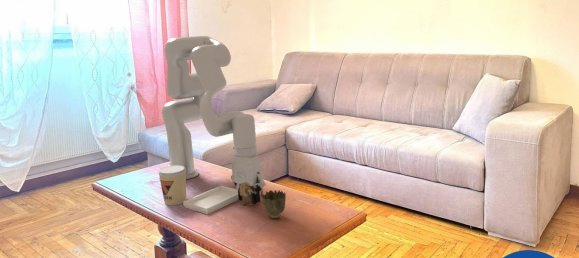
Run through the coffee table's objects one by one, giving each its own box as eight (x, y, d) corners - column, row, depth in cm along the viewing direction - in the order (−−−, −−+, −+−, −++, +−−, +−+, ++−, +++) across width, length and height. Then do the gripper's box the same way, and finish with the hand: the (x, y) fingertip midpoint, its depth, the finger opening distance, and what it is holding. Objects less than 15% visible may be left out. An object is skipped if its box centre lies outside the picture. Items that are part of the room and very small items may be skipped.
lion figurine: (252, 209, 153) (250, 184, 151) (237, 209, 154) (235, 184, 152) (265, 193, 166) (263, 170, 164) (251, 193, 168) (249, 169, 166)
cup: (278, 224, 141) (277, 200, 139) (259, 219, 145) (257, 196, 143) (291, 215, 147) (290, 191, 145) (272, 211, 151) (270, 188, 149)
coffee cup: (157, 202, 164) (153, 170, 161) (179, 194, 171) (175, 163, 168) (171, 208, 158) (167, 175, 155) (194, 199, 164) (190, 168, 162)
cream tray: (183, 206, 158) (183, 201, 158) (221, 190, 172) (221, 185, 172) (207, 214, 151) (206, 208, 151) (244, 196, 165) (244, 191, 164)
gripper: (219, 150, 156) (224, 200, 160) (257, 157, 146) (260, 210, 150) (235, 145, 162) (238, 193, 166) (272, 151, 151) (275, 202, 155)
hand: (249, 200), depth 158 cm, fingers open, 5 cm apart
